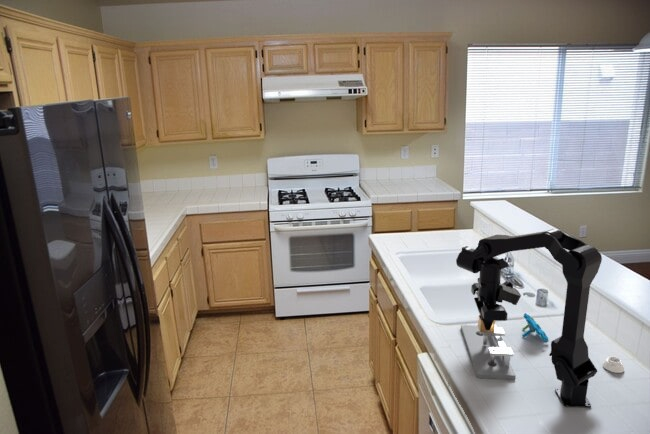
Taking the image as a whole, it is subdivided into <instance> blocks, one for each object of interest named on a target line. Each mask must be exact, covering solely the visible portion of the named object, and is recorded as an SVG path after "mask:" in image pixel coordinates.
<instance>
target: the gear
mask: <svg viewBox="0 0 650 434" xmlns="http://www.w3.org/2000/svg"><path fill="white" fill-rule="evenodd" d="M523 318H524V319H525V321H526V323H527V325H525V326H524V327H523V328H522V331H525V330H527V329H528V330H527V331H526V332H524V333H522V335H521V336H522V338H523V339H525V338H526V337H528V336H529V335H531V333H536V334H537V335H538V336H540V338H541V339H542V340H543V341H545V342H547V343H548V341H549V337H548V336H547V334H546V332H545V331H544V330H543V329H542V327H541V326H540V324H539V323H537V321H536V320H535V319H534V318H533V317H532V316H531V315H529V314H527V313H526V312H524V314H523Z"/></svg>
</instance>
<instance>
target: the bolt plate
mask: <svg viewBox="0 0 650 434" xmlns="http://www.w3.org/2000/svg"><path fill="white" fill-rule="evenodd" d="M460 331H461V332H462V336H463V339H464V343H465V346H466V348H467V352H468V355H469V357H470V361H471V363H472V367H473V370H474V373H475V375H476V378H477V379H479V378H480V379H493V380H494V379H497V380H502V379H503V380H516V373H515V371H514V369H513V367H512V365H511V363H510V364H509V367H503V365H502V356H495V362H494V364H490V353H489V351H488V347H498V346H497V344H496V342H495V340H494V337H493V336H488V339H487V345H483V333H482V332H480V331H479V328H478V325H475V324H474V325H473V324H471V325H470V324H468V325H467V324H461V325H460Z"/></svg>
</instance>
